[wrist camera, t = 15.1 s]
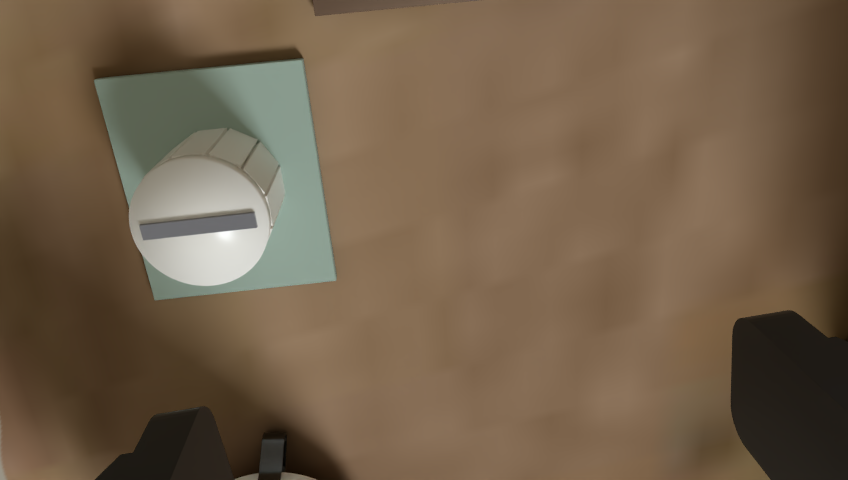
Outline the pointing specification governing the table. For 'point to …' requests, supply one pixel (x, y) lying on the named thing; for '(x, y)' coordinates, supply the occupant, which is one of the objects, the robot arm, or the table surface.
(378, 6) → the post base
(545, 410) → the table surface
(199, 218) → the cap
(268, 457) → the coffee press
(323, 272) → the sage mat
